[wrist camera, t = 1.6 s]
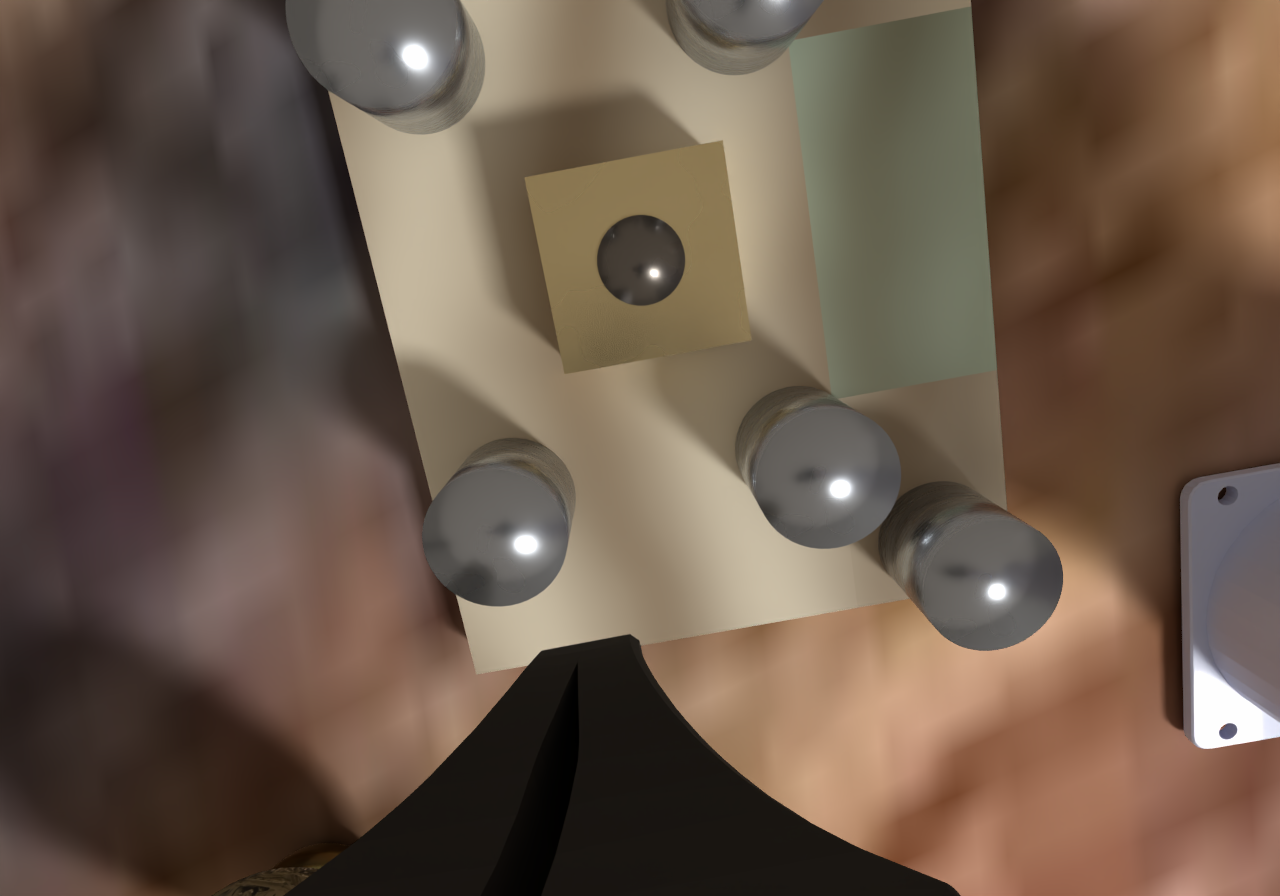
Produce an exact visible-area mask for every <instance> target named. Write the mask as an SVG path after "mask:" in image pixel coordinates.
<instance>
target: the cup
mask: <svg viewBox="0 0 1280 896" xmlns="http://www.w3.org/2000/svg"><path fill="white" fill-rule="evenodd" d="M348 847H349V846H348V845H344V844H339V843H318V844H313V845H309V846H306V847H303V848H301V849H299V850H297V851H295V852H294V853H292V854H290V855H289V856H287V857H286V858H285V859H283V860H282V861H281V862H279V863H278V864H277V865H276V866H275V867H274V868H273V869H272V870H267V871H263V872H260V873H257V874H254V875H251V876H248V877H246V878H243V879H241V880H238V881H236V882H234V883H232V884H230V885H228V886H227V887H225V888H223V889H222V890H220V891H218V892H217V893H215V894H214V895H212V896H283V895H285V894H286V893H287V892H289V891H290V890H291V889H293V888H294V887H295V886H297V885H298V884H299V883H301V882H302V881H303V880H305V879H306V878H308V877H309V876H310V875H312V874H313V873H314V872H316V871H317V870H318V869H320V868H321V867H322V866H324V865H325V864H326V863H328V862H329V861H331V860H332V859H333V858H335V857H336V856H337V855H339V854H340V853H341V852H343V851H344V850H345V849H347V848H348Z"/></svg>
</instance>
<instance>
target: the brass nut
mask: <svg viewBox="0 0 1280 896" xmlns="http://www.w3.org/2000/svg"><path fill="white" fill-rule="evenodd" d="M524 178H525V183H526V188H527V193H528V198H529V202H530V207H531V212H532V217H533V222H534V227H535V232H536V237H537V242H538V247H539V252H540V257H541V261H542V266H543V271H544V276H545V281H546V286H547V291H548V296H549V301H550V306H551V311H552V315H553V320H554V325H555V330H556V335H557V340H558V345H559V350H560V355H561V360H562V365H563V370H564V374H569V373H575V372H580V371H586V370H591V369H597V368H602V367H608V366H613V365H619V364H624V363H630V362H635V361H641V360H646V359H652V358H657V357H663V356H668V355H674V354H679V353H684V352H690V351H695V350H701V349H706V348H712V347H717V346H723V345H728V344H734V343H739V342H745V341H750V340H752V338H751V331H750V324H749V318H748V311H747V304H746V297H745V290H744V283H743V276H742V269H741V262H740V255H739V248H738V242H737V235H736V228H735V221H734V214H733V207H732V200H731V193H730V186H729V179H728V172H727V166H726V159H725V152H724V145H723V140H721V141H716V142H710V143H705V144H700V145H694V146H689V147H684V148H678V149H673V150H668V151H662V152H657V153H652V154H646V155H641V156H635V157H630V158H625V159H619V160H614V161H609V162H603V163H598V164H593V165H587V166H582V167H577V168H571V169H566V170H561V171H555V172H550V173H545V174H539V175H534V176H529V177H524Z"/></svg>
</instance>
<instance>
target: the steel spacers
mask: <svg viewBox="0 0 1280 896" xmlns="http://www.w3.org/2000/svg"><path fill="white" fill-rule="evenodd" d="M823 1H824V0H666V11H667V17H668V21H669V25H670V27H671V30H672V33H673V35H674V37H675V39H676V41H677V42H678V44H679V45H680V47H681V48H682V50H683V51H684V52H685V53H686V54H687V55H688V56H689V57H690V58H691V59H692V60H693V61H694V62H696V63H697V64H699V65H700V66H702V67H704V68H706V69H708V70H710V71H712V72H715V73H719V74H724V75H745V74H749V73H753V72H756V71H758V70H761V69H763V68H765V67H767V66H768V65H770V64H772V63H773V62H774V61H775V60H777V59H778V58H779V57H780V56H781V55H782V54H783V53H784V52H785V51H786V50H787V48H788V47H789V46H790V44H791V43H792V42H793V41H794V39H795V38H796V37H797V35H798V34H799V33H800V31H801V30H802V29H803V27H804V26H805V25H806V23H807V22H808V21H809V19H810V18H811V17H812V15H813V14H814V13H815V11H816V10H817V9H818V7H819V6H820V5H821V3H822V2H823ZM285 9H286V20H287V25H288V31H289V34H290V37H291V40H292V43H293V46H294V48H295V50H296V52H297V55H298V56H299V58H300V60H301V61H302V63H303V65H304V66H305V67H306V69H307V70H308V71H309V73H310V74H311V75H312V76H313V77H314V78H315V79H316V80H317V81H318V82H319V83H320V84H321V85H322V86H324V87H325V88H326V89H327V90H329V91H330V92H332V93H333V94H335V95H336V96H338V97H340V98H341V99H343V100H345V101H346V102H348V103H350V104H351V105H353V106H355V107H356V108H358V109H360V110H361V111H363V112H365V113H366V114H368V115H370V116H371V117H373V118H375V119H376V120H378V121H380V122H381V123H383V124H385V125H386V126H388V127H390V128H392V129H395V130H397V131H400V132H404V133H408V134H417V135H425V134H433V133H436V132H440V131H443V130H445V129H447V128H450V127H451V126H453V125H454V124H456V123H457V122H459V121H460V120H461V119H462V118H464V116H465V115H466V114H467V113H468V112H469V111H470V110H471V108H472V107H473V105H474V104H475V102H476V100H477V98H478V96H479V94H480V91H481V89H482V85H483V81H484V76H485V53H484V47H483V43H482V40H481V36H480V34H479V31H478V29H477V27H476V25H475V23H474V22H473V20H472V18H471V16H470V15H469V13H468V11H467V10H466V8H465V6H464V5H463V3H462V2H461V0H286V6H285ZM735 455H736V461H737V466H738V468H739V471H740V473H741V475H742V477H743V479H744V481H745V482H746V484H747V486H748V488H749V489H750V491H751V493H752V495H753V496H754V498H755V500H756V502H757V503H758V505H759V507H760V509H761V510H762V512H763V514H764V516H765V517H766V519H767V520H768V522H769V523H770V524H771V526H772V527H773V528H774V529H775V530H776V531H777V532H779V533H780V534H781V535H782V536H784V537H785V538H787V539H789V540H790V541H792V542H794V543H797V544H799V545H802V546H806V547H809V548H817V549H831V548H838V547H843V546H847V545H849V544H852V543H855V542H857V541H859V540H861V539H863V538H864V537H866V536H867V535H869V534H870V533H872V532H873V531H874V530H875V529H876V528H877V527H879V525H880V524H881V523H882V524H881V527H880V531H879V537H878V550H879V555H880V558H881V561H882V564H883V566H884V568H885V569H886V571H887V572H888V574H889V575H890V576H891V577H892V578H893V580H894V581H895V582H896V583H897V584H898V585H899V587H900V588H901V589H902V590H903V591H904V592H905V593H906V595H907V596H908V597H909V598H910V599H911V600H912V601H913V603H914V604H915V605H916V606H917V607H918V608H919V610H920V611H921V612H922V613H923V614H924V615H925V616H926V618H927V619H928V620H929V621H930V622H931V623H932V625H933V626H934V627H935V628H936V629H937V630H938V631H939V632H940V633H941V634H942V635H943V636H944V637H945V638H947V639H948V640H950V641H951V642H953V643H955V644H957V645H959V646H962V647H965V648H968V649H973V650H980V651H990V650H998V649H1003V648H1007V647H1010V646H1013V645H1015V644H1017V643H1019V642H1022V641H1024V640H1025V639H1027V638H1028V637H1030V636H1031V635H1033V634H1034V633H1035V632H1036V631H1038V630H1039V629H1040V628H1041V627H1042V626H1043V625H1044V624H1045V623H1046V621H1047V620H1048V619H1049V618H1050V616H1051V615H1052V613H1053V611H1054V610H1055V608H1056V606H1057V603H1058V601H1059V598H1060V595H1061V592H1062V585H1063V570H1062V565H1061V561H1060V558H1059V555H1058V553H1057V551H1056V549H1055V548H1054V546H1053V545H1052V543H1051V542H1050V541H1049V540H1048V539H1047V538H1046V537H1045V536H1044V535H1043V534H1042V533H1041V532H1039V531H1038V530H1036V529H1035V528H1033V527H1031V526H1030V525H1028V524H1027V523H1025V522H1023V521H1022V520H1020V519H1019V518H1017V517H1016V516H1014V515H1012V514H1011V513H1009V512H1008V511H1006V510H1005V509H1003V508H1001V507H1000V506H998V505H997V504H995V503H994V502H992V501H990V500H989V499H987V498H986V497H984V496H982V495H981V494H979V493H978V492H976V491H975V490H973V489H971V488H970V487H967V486H965V485H963V484H959V483H956V482H949V481H937V482H930V483H926V484H923V485H920V486H917V487H915V488H913V489H911V490H909V491H908V492H907V493H905V494H904V495H902V496H901V497H900V498H899V499H898V500H897V501H896V499H897V496H898V493H899V489H900V483H901V466H900V460H899V456H898V453H897V450H896V448H895V446H894V444H893V442H892V440H891V439H890V437H889V436H888V434H887V433H886V432H885V431H884V430H883V429H882V428H881V427H880V426H879V425H878V424H877V423H876V422H874V421H873V420H871V419H870V418H868V417H866V416H865V415H863V414H861V413H860V412H858V411H856V410H855V409H853V408H852V407H850V406H848V405H847V404H845V403H843V402H842V401H840V400H839V399H837V398H835V397H834V396H832V395H830V394H829V393H827V392H825V391H822V390H820V389H817V388H813V387H807V386H792V387H786V388H782V389H779V390H776V391H774V392H772V393H770V394H768V395H766V396H764V397H763V398H762V399H760V400H759V401H758V402H757V403H756V404H754V405H753V406H752V407H751V409H750V410H749V411H748V412H747V414H746V415H745V417H744V418H743V420H742V422H741V424H740V426H739V429H738V432H737V436H736V442H735ZM895 501H896V502H895ZM575 505H576V492H575V486H574V482H573V479H572V476H571V474H570V472H569V470H568V468H567V467H566V465H565V464H564V463H563V461H562V460H561V459H560V458H559V457H558V456H557V455H556V454H555V453H554V452H552V451H551V450H550V449H548V448H547V447H545V446H543V445H541V444H539V443H537V442H534V441H531V440H527V439H521V438H505V439H499V440H495V441H492V442H489V443H487V444H485V445H483V446H481V447H479V448H478V449H477V450H475V451H474V452H473V453H472V454H471V455H470V456H469V457H468V458H467V459H466V460H465V461H464V463H463V464H462V465H461V466H460V467H459V469H458V470H457V471H456V472H455V474H454V475H453V476H452V477H451V479H450V480H449V481H448V482H447V483H446V485H445V486H444V487H443V488H442V490H441V491H440V492H439V493H438V495H437V496H436V497H435V498H434V500H433V501H432V503H431V505H430V507H429V508H428V511H427V513H426V516H425V520H424V524H423V532H422V539H423V548H424V553H425V556H426V559H427V561H428V563H429V566H430V568H431V569H432V571H433V572H434V574H435V576H436V577H437V578H438V579H439V580H440V582H441V583H442V584H443V585H444V586H445V587H447V588H448V589H449V590H450V591H452V592H453V593H454V594H456V595H457V596H459V597H461V598H463V599H465V600H467V601H470V602H473V603H476V604H480V605H485V606H497V607H502V606H511V605H515V604H519V603H522V602H524V601H527V600H529V599H531V598H533V597H535V596H537V595H538V594H539V593H541V592H542V591H544V590H545V589H546V588H547V587H548V586H549V585H550V584H551V583H552V582H553V580H554V579H555V578H556V576H557V575H558V573H559V571H560V570H561V567H562V565H563V563H564V560H565V556H566V552H567V547H568V542H569V537H570V532H571V527H572V521H573V516H574V511H575Z"/></svg>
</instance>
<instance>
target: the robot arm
mask: <svg viewBox="0 0 1280 896" xmlns="http://www.w3.org/2000/svg"><path fill="white" fill-rule="evenodd" d="M1224 487H1226V489H1227V490H1226V494H1225V495H1224V497H1223V498H1222V499H1220V500H1218V494H1219V492H1220V491H1221V490H1222V489H1223V488H1224ZM1180 530H1181V593H1182V655H1183V718H1184V733H1185V736H1186V737H1187V738H1188V739H1189V740H1190V741H1191V742H1192V743H1193V744H1194V745H1196V746H1197V747H1199V748H1202V749H1211V748H1217V747H1222V746H1228V745H1234V744H1240V743H1246V742H1252V741H1258V740H1264V739H1269V738H1275V737H1280V463H1277V464H1271V465H1265V466H1260V467H1254V468H1248V469H1243V470H1237V471H1232V472H1226V473H1220V474H1215V475H1209V476H1203V477H1198V478H1195V479H1193V480H1191V481H1190V482H1188V483H1187V484H1186V485H1185V486H1184V488H1183V490H1182V491H1181V496H1180ZM1224 724H1226V726H1225V727H1224V728H1223V729H1222V730H1220V728H1221V727H1222V726H1223V725H1224ZM1219 730H1220V731H1219ZM283 896H960V894H959V893H958V892H957V891H956V890H955V889H954V888H953V887H952V886H950V885H949V884H947V883H945V882H942V881H940V880H937V879H935V878H932V877H930V876H927V875H925V874H922V873H920V872H917V871H915V870H912V869H910V868H907V867H905V866H902V865H900V864H897V863H895V862H893V861H890V860H888V859H885V858H883V857H880V856H878V855H875V854H873V853H870V852H868V851H865V850H863V849H861V848H859V847H856V846H854V845H852V844H850V843H848V842H846V841H844V840H842V839H841V838H839V837H837V836H835V835H833V834H831V833H829V832H827V831H825V830H823V829H821V828H819V827H817V826H816V825H814V824H812V823H810V822H809V821H807V820H806V819H804V818H802V817H801V816H799V815H798V814H796V813H795V812H793V811H791V810H790V809H788V808H787V807H785V806H784V805H782V804H781V803H779V802H777V801H776V800H774V799H773V798H771V797H770V796H768V795H767V794H766V793H764V792H763V791H762V790H761V789H759V788H758V787H757V786H755V785H754V784H753V783H752V782H750V781H749V780H748V779H746V778H745V777H744V776H743V775H741V774H740V773H739V772H738V771H737V770H736V769H734V768H733V767H732V766H731V765H730V764H729V763H728V762H726V761H725V760H724V759H723V758H722V757H721V756H720V755H719V754H718V753H717V752H716V751H715V750H714V749H712V748H711V747H710V746H709V745H708V744H707V743H706V741H705V740H704V739H703V738H702V737H701V736H700V735H699V734H698V733H697V732H696V731H695V730H694V729H693V727H692V726H691V725H690V724H689V723H688V722H687V721H686V720H685V719H684V717H683V716H682V715H681V714H680V712H679V711H678V710H677V709H676V708H675V706H674V705H673V704H672V702H671V701H670V699H669V698H668V697H667V695H666V694H665V693H664V691H663V690H662V688H661V687H660V686H659V684H658V683H657V681H656V679H655V678H654V676H653V675H652V673H651V671H650V669H649V668H648V666H647V664H646V662H645V660H644V658H643V655H642V650H641V645H640V641H639V640H638V639H637V638H635V637H634V636H632V635H631V634H627V635H622V636H616V637H611V638H606V639H600V640H595V641H590V642H584V643H579V644H574V645H568V646H563V647H558V648H552V649H547V650H542V651H541V652H540V653H539V654H538V655H537V656H536V657H535V658H534V659H533V660H532V662H531V663H530V664H529V665H528V666H527V668H526V669H525V670H524V671H523V672H522V674H521V675H520V676H519V677H518V679H517V680H516V681H515V682H514V683H513V685H512V686H511V687H510V688H509V690H508V691H507V692H506V693H505V694H504V696H503V697H502V698H501V699H500V700H499V701H498V703H497V704H496V705H495V706H494V707H493V708H492V710H491V711H490V712H489V713H488V714H487V716H486V717H485V718H484V719H483V720H482V721H481V723H480V724H479V725H478V726H477V727H476V728H475V729H474V730H473V732H472V733H471V734H470V735H469V736H468V737H467V738H466V739H465V740H464V741H463V742H462V743H461V744H460V745H459V746H458V747H457V748H456V749H455V750H454V751H453V753H452V754H451V755H450V756H449V757H448V758H447V759H446V760H445V761H444V762H443V763H442V764H441V765H440V766H439V767H438V768H437V769H436V770H435V771H434V772H433V774H432V775H431V776H430V777H429V778H428V779H427V780H425V781H424V782H423V783H422V784H421V785H420V786H419V787H418V788H417V789H416V790H415V791H414V792H413V793H412V794H411V795H410V796H408V797H407V798H406V799H405V800H404V801H403V802H402V803H401V804H400V805H399V806H397V807H396V808H395V809H394V810H393V811H392V812H390V813H389V814H388V815H387V816H386V817H385V818H383V819H382V820H381V821H380V822H379V823H378V824H376V825H375V826H374V827H373V828H372V829H371V830H369V831H368V832H367V833H366V834H365V835H363V836H362V837H361V838H360V839H358V840H357V841H356V842H355V843H353V844H352V845H351V846H349V847H348V848H347V849H345V850H344V851H343V852H341V853H340V854H339V855H337V856H336V857H335V858H333V859H332V860H331V861H329V862H328V863H326V864H325V865H324V866H322V867H321V868H320V869H318V870H317V871H316V872H314V873H313V874H312V875H310V876H309V877H308V878H306V879H305V880H303V881H302V882H301V883H299V884H298V885H297V886H295V887H294V888H293V889H291V890H290V891H289V892H287V893H286V894H285V895H283Z"/></svg>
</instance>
